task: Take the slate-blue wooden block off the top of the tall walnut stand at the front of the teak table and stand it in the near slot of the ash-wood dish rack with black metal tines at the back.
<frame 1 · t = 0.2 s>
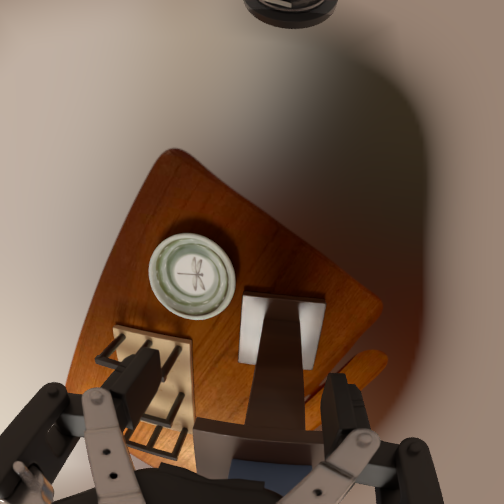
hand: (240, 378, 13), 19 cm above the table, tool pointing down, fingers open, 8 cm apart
stand: (280, 330, 33), on the table
block: (267, 480, 14), point 20 cm above the table, touching stand
saucer: (196, 271, 33), on the table
rack: (157, 384, 38), on the table
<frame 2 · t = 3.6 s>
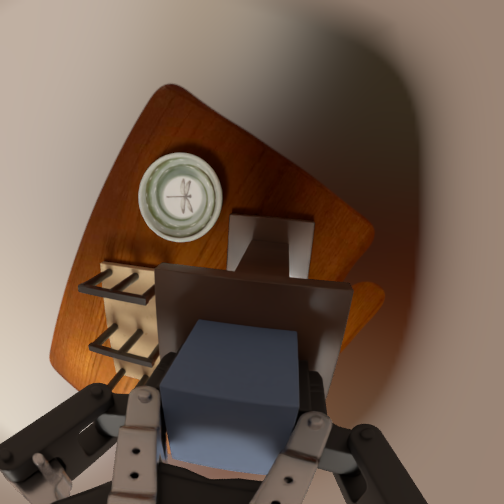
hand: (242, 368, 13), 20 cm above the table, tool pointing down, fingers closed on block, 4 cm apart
stand: (269, 256, 33), on the table
block: (243, 364, 14), point 20 cm above the table, touching gripper, stand
saucer: (185, 196, 33), on the table
rack: (143, 328, 38), on the table
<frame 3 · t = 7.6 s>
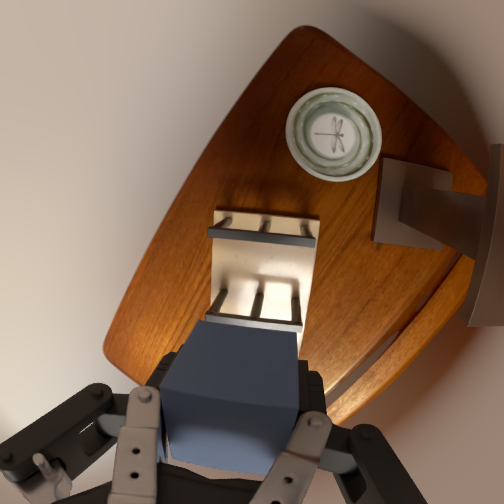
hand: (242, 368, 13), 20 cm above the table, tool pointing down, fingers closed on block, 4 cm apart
stand: (412, 204, 29), on the table
block: (243, 365, 14), point 19 cm above the table, touching gripper
saucer: (331, 136, 28), on the table
rack: (260, 293, 33), on the table
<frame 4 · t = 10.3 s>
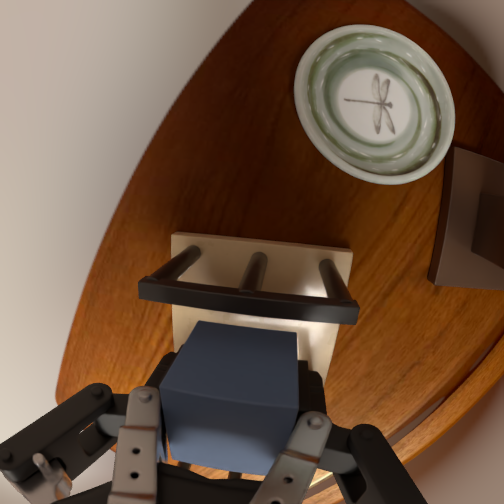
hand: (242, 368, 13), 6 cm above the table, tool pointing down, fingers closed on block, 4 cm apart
stand: (486, 223, 16), on the table
block: (243, 365, 14), point 6 cm above the table, touching gripper
saucer: (370, 107, 15), on the table
rack: (251, 360, 20), on the table
when the fingers open (1 cm above the table, at t = 11.9 s): block stays where it is, resting on rack.
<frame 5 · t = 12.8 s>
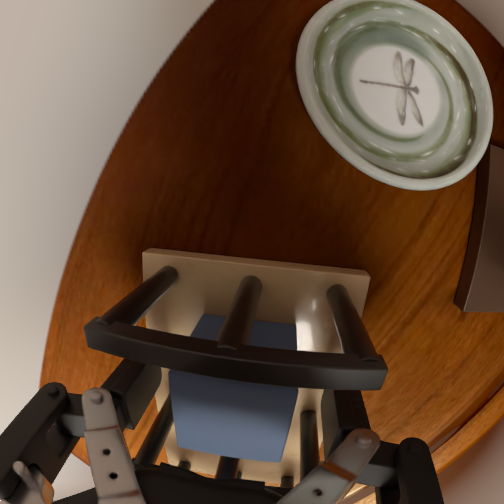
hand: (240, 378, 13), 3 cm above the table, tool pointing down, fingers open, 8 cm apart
block: (245, 357, 15), point 1 cm above the table, touching rack
saucer: (391, 92, 12), on the table
rack: (243, 397, 17), on the table
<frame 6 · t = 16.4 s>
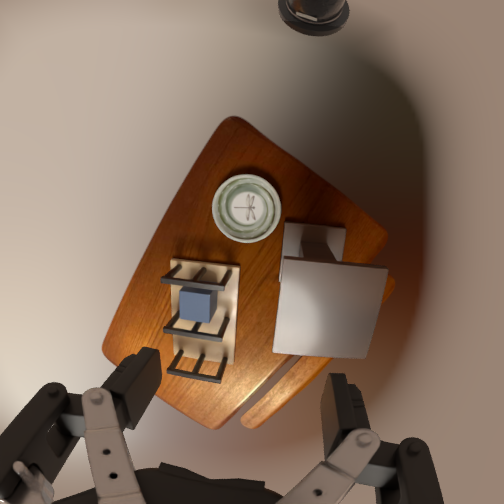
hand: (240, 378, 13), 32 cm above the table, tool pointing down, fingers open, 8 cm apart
stand: (311, 253, 44), on the table
block: (203, 294, 46), point 1 cm above the table, touching rack
saucer: (248, 207, 43), on the table
rack: (204, 313, 48), on the table
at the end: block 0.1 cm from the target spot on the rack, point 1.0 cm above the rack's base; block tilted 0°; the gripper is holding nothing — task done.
